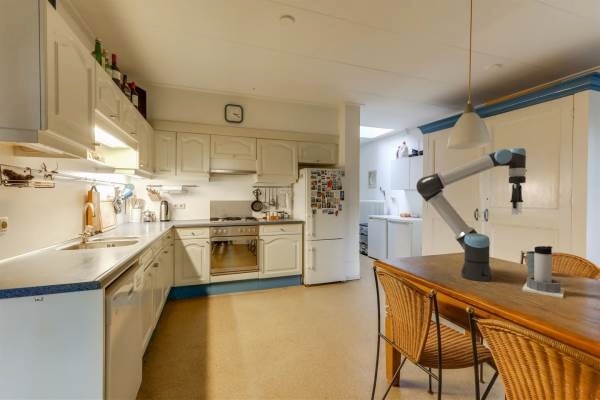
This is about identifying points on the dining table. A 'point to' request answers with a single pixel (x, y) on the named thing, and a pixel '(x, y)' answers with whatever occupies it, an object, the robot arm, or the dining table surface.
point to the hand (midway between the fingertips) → (516, 214)
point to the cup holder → (544, 287)
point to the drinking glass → (530, 261)
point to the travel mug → (543, 264)
